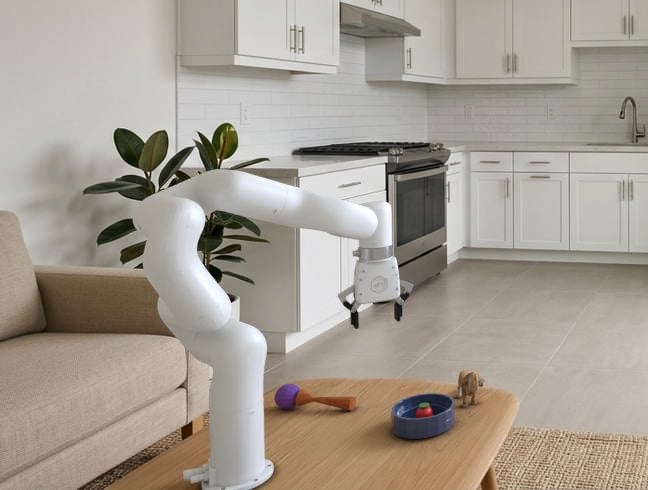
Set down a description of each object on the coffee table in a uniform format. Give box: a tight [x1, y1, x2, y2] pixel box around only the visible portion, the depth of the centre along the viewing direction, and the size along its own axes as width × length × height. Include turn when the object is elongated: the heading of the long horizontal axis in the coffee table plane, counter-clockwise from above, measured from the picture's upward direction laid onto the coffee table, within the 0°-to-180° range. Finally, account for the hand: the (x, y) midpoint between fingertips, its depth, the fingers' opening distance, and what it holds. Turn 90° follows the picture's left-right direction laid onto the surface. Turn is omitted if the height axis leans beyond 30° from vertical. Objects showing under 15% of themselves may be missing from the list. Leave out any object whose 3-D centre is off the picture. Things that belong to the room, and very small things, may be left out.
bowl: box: [390, 392, 456, 440], centre depth 157 cm, size 14×14×5 cm
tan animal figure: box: [456, 369, 486, 408], centre depth 171 cm, size 15×5×9 cm, turn 33°
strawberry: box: [416, 403, 433, 418], centre depth 157 cm, size 4×4×5 cm
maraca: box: [274, 383, 357, 412], centre depth 167 cm, size 6×6×20 cm
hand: (377, 323), depth 160 cm, fingers open, 9 cm apart
